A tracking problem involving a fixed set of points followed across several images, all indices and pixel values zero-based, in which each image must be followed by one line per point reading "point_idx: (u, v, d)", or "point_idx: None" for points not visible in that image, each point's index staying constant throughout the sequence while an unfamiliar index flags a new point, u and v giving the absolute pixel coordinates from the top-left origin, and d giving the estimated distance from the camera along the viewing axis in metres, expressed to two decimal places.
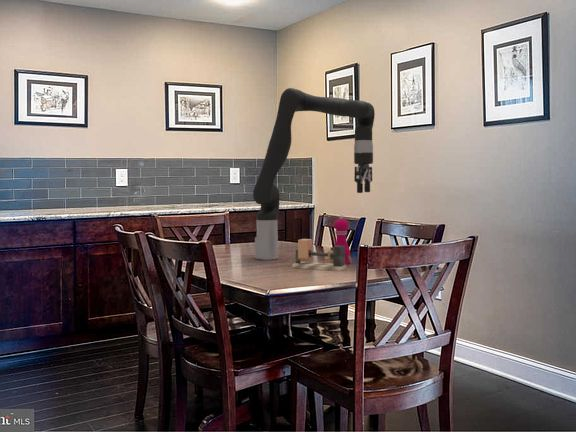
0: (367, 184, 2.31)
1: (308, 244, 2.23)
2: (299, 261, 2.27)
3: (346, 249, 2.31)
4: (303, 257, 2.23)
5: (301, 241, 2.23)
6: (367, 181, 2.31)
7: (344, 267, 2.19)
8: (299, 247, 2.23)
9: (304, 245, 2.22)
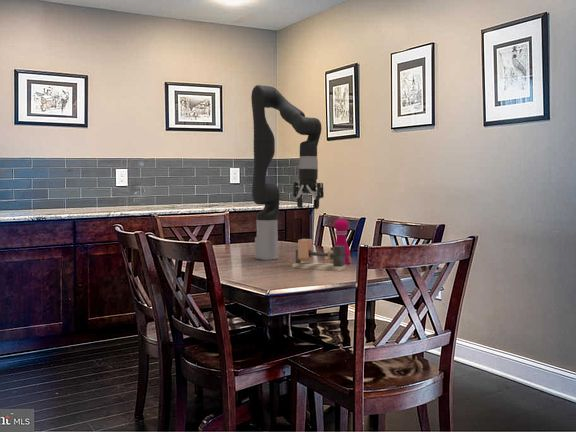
0: (301, 199, 2.30)
1: (308, 244, 2.23)
2: (299, 261, 2.27)
3: (346, 249, 2.31)
4: (303, 257, 2.23)
5: (301, 241, 2.23)
6: (300, 196, 2.30)
7: (344, 267, 2.19)
8: (299, 247, 2.23)
9: (304, 245, 2.22)
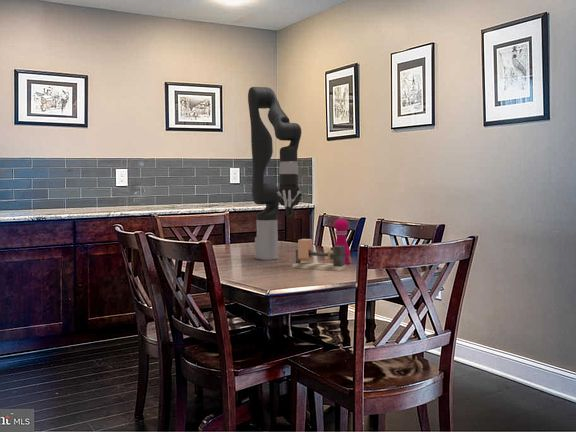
0: None
1: (308, 244, 2.23)
2: (299, 261, 2.27)
3: (346, 249, 2.31)
4: (303, 257, 2.23)
5: (301, 241, 2.23)
6: None
7: (344, 267, 2.19)
8: (299, 247, 2.23)
9: (304, 245, 2.22)
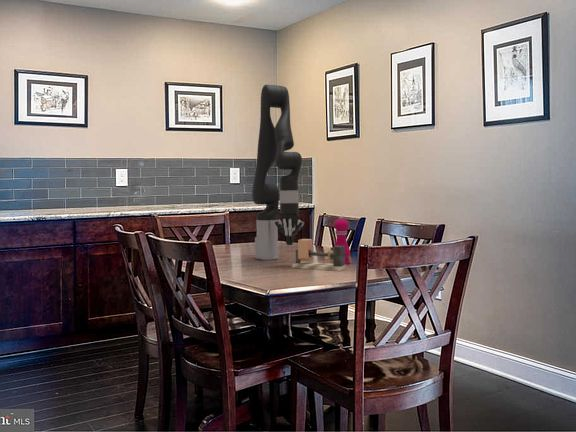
0: None
1: (308, 244, 2.23)
2: (299, 261, 2.27)
3: (346, 249, 2.31)
4: (303, 257, 2.23)
5: (301, 241, 2.23)
6: None
7: (344, 267, 2.19)
8: (299, 247, 2.23)
9: (304, 245, 2.22)
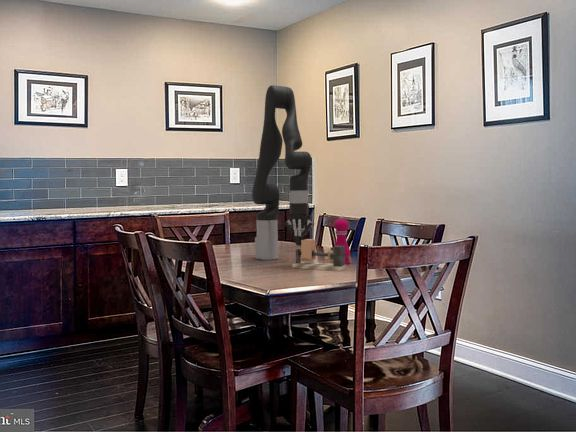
0: None
1: (312, 244, 2.22)
2: (299, 261, 2.27)
3: (346, 249, 2.31)
4: (306, 257, 2.22)
5: (304, 241, 2.22)
6: None
7: (344, 267, 2.19)
8: (302, 247, 2.23)
9: (307, 245, 2.22)
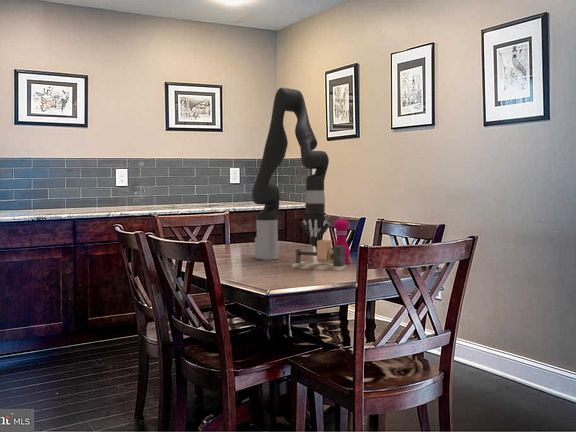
0: None
1: (328, 245, 2.19)
2: (299, 261, 2.27)
3: (346, 249, 2.31)
4: (322, 258, 2.19)
5: (320, 242, 2.19)
6: None
7: (344, 267, 2.19)
8: (318, 248, 2.19)
9: (323, 246, 2.18)
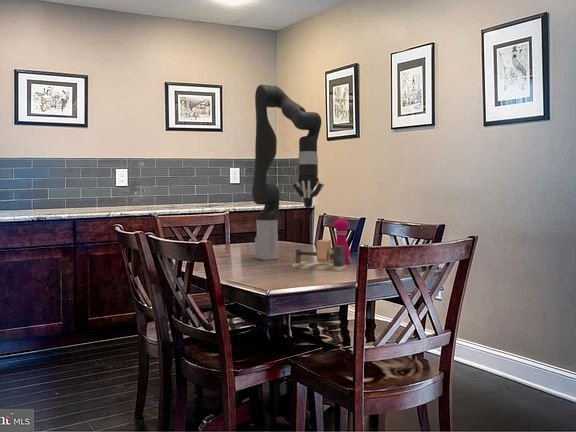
0: None
1: (327, 245, 2.19)
2: (299, 261, 2.27)
3: (346, 249, 2.31)
4: (322, 258, 2.19)
5: (320, 242, 2.19)
6: None
7: (344, 267, 2.19)
8: (318, 248, 2.19)
9: (323, 246, 2.18)
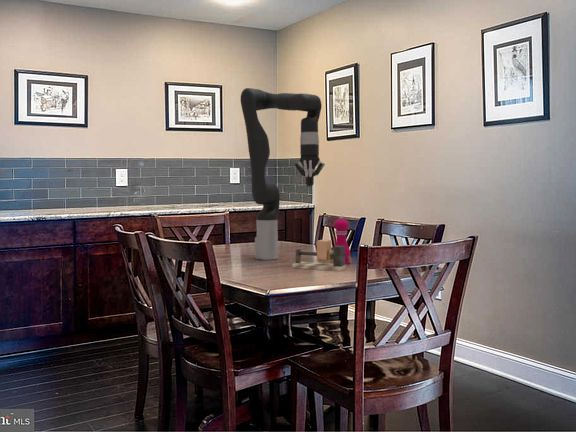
0: None
1: (327, 245, 2.19)
2: (299, 261, 2.27)
3: (346, 249, 2.31)
4: (322, 258, 2.19)
5: (320, 242, 2.19)
6: None
7: (344, 267, 2.19)
8: (318, 248, 2.19)
9: (323, 246, 2.18)
